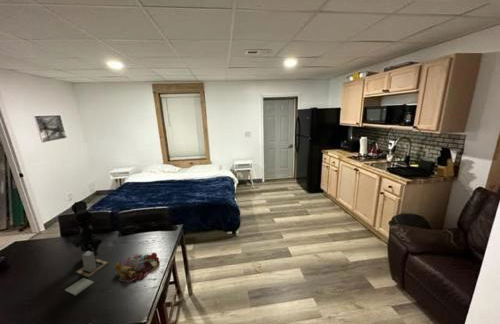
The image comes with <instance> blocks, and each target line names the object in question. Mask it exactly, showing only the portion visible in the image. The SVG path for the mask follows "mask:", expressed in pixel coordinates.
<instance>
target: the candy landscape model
mask: <svg viewBox="0 0 500 324" xmlns="http://www.w3.org/2000/svg"><path fill="white" fill-rule="evenodd" d="M159 267H160V258H159V257H158V254H157V253H156V252H152V253H151V254H149V253H147V254H145V255H144V254H143V255H142V254H138V253H136V254H133V255H131V256H129V257H125V258H123V260H122V259H120V261H117V262H116V263H114V265H113V268H114V270H115V271H116V272H115V276H117V277H119V278H118V280H119V282H123V283H124V282H126V283H131V282H133V283H136V281H137V279H138V280H139V281H141V280H143V278H145V277H147V276H148V275H149V273H152V272H155V270H156V269H157V268H159Z"/></svg>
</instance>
